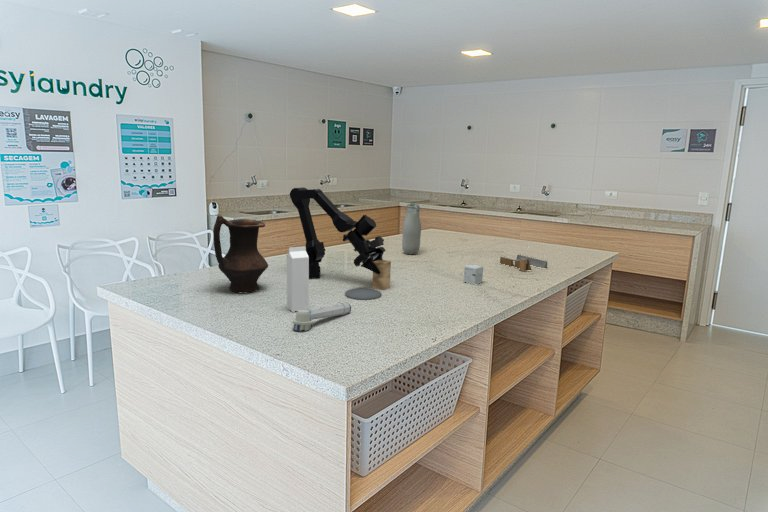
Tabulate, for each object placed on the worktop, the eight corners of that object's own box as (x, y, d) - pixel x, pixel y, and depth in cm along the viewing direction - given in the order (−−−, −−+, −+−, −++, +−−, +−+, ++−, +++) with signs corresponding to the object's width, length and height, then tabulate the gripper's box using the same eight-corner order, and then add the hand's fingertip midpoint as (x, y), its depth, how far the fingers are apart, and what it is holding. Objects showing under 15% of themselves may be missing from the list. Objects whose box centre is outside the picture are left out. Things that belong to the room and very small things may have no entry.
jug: (253, 281, 214) (251, 209, 208) (277, 290, 201) (276, 214, 195) (204, 289, 199) (201, 212, 193) (227, 299, 186) (225, 218, 180)
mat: (349, 300, 190) (349, 298, 190) (341, 291, 203) (341, 289, 203) (385, 298, 194) (385, 296, 194) (375, 289, 207) (375, 287, 207)
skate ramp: (561, 270, 255) (562, 255, 253) (512, 278, 236) (513, 262, 234) (516, 259, 279) (517, 246, 277) (468, 265, 259) (469, 251, 258)
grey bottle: (400, 255, 278) (402, 203, 273) (403, 251, 288) (405, 202, 282) (418, 256, 277) (421, 204, 271) (420, 252, 286) (423, 202, 281)
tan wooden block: (372, 288, 208) (373, 261, 206) (378, 285, 213) (379, 259, 211) (384, 290, 206) (385, 263, 204) (389, 287, 211) (390, 261, 209)
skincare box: (463, 282, 223) (464, 266, 221) (470, 280, 227) (471, 264, 226) (474, 285, 219) (476, 268, 217) (482, 283, 223) (483, 266, 222)
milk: (308, 310, 177) (309, 248, 173) (292, 312, 174) (292, 249, 170) (302, 305, 182) (302, 244, 178) (286, 307, 179) (286, 245, 175)
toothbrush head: (353, 303, 174) (302, 310, 154) (351, 322, 175) (300, 332, 154) (341, 300, 177) (290, 307, 157) (339, 319, 178) (288, 328, 157)
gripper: (361, 233, 199) (385, 264, 196) (382, 227, 215) (405, 256, 213) (343, 250, 204) (367, 281, 201) (365, 244, 220) (387, 272, 218)
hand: (382, 272), depth 208 cm, fingers closed on tan wooden block, 5 cm apart
